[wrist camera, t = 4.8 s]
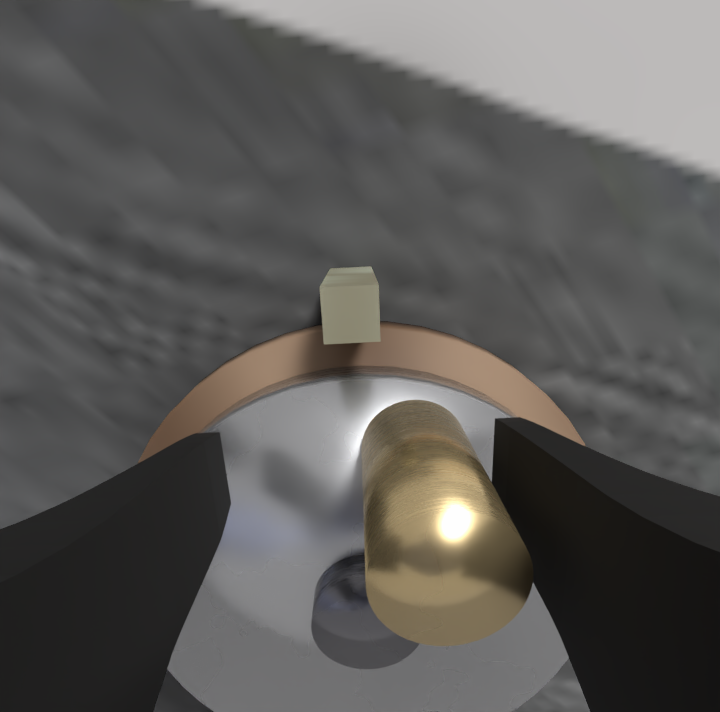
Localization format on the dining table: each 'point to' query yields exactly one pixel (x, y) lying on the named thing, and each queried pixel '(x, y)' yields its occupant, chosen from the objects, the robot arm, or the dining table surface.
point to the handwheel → (365, 556)
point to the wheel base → (357, 361)
